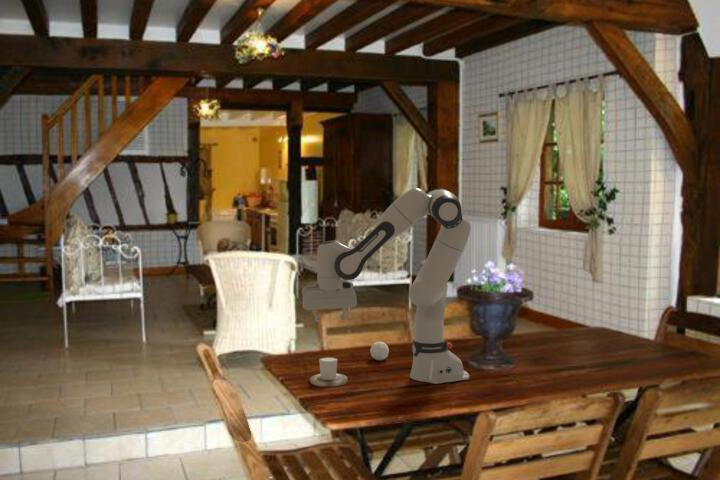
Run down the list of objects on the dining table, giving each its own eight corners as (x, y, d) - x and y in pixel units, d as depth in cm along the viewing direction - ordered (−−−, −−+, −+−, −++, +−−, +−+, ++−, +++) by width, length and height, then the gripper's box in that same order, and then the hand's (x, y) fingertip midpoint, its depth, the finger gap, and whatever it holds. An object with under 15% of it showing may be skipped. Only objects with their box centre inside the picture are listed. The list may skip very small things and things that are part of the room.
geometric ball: (376, 367, 297) (365, 353, 295) (378, 355, 304) (368, 342, 302) (391, 359, 294) (380, 345, 292) (393, 348, 301) (382, 334, 299)
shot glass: (334, 380, 264) (334, 362, 263) (316, 379, 266) (316, 361, 265) (339, 375, 271) (339, 357, 270) (322, 374, 272) (322, 356, 272)
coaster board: (343, 375, 276) (343, 371, 276) (350, 385, 262) (350, 382, 262) (307, 377, 273) (307, 374, 273) (313, 388, 260) (313, 384, 259)
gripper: (302, 286, 262) (303, 323, 263) (357, 283, 266) (358, 320, 267) (300, 284, 268) (301, 320, 269) (353, 281, 272) (354, 317, 274)
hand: (330, 320), depth 268 cm, fingers open, 8 cm apart
